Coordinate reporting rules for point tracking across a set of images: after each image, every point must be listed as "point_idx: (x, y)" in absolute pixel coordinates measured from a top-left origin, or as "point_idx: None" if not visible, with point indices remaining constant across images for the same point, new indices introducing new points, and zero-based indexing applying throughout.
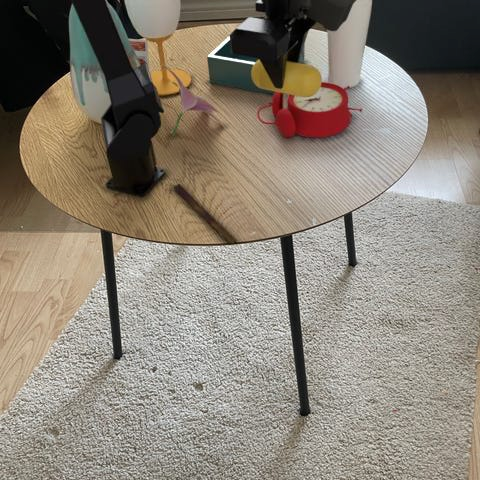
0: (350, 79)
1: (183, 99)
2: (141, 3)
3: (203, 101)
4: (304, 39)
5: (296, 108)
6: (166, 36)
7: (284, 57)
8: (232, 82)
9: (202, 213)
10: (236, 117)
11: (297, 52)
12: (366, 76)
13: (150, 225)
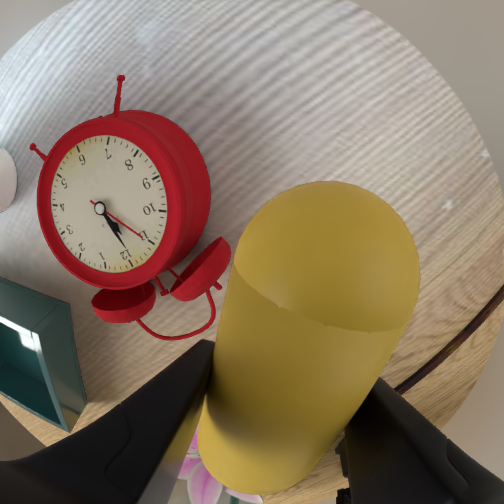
0: (1, 161)
1: None
2: None
3: None
4: (106, 453)
5: (169, 257)
6: None
7: (486, 482)
8: (77, 379)
9: (466, 337)
10: (165, 362)
11: (184, 422)
12: None
13: (464, 382)
